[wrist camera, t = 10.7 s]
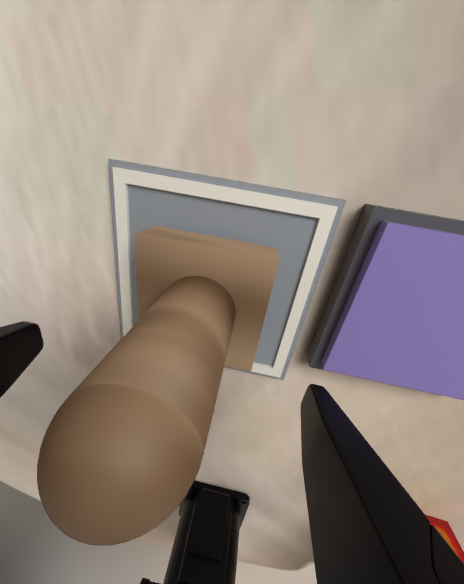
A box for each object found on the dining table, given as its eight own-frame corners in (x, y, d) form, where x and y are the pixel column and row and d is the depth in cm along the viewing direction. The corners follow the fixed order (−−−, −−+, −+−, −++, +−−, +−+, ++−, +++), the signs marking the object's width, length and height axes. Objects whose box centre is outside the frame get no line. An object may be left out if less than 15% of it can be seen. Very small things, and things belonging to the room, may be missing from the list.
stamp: (253, 341, 14) (228, 630, 5) (158, 321, 15) (-25, 559, 5) (277, 245, 12) (312, 490, 2) (159, 223, 12) (-195, 366, 3)
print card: (282, 375, 16) (283, 382, 15) (124, 340, 16) (119, 346, 16) (343, 199, 11) (347, 201, 10) (113, 159, 11) (105, 158, 11)
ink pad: (455, 386, 14) (477, 410, 13) (306, 355, 15) (311, 374, 13) (576, 240, 10) (626, 250, 9) (365, 203, 11) (380, 207, 9)
